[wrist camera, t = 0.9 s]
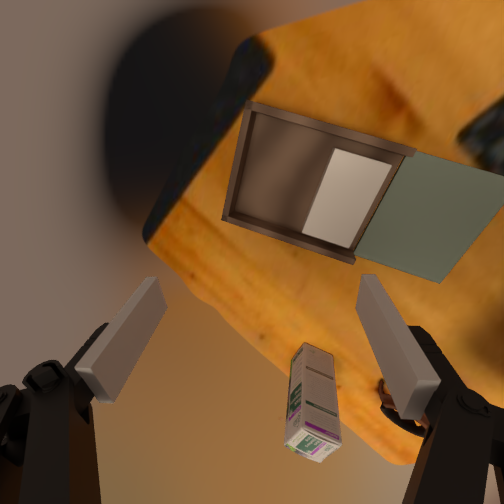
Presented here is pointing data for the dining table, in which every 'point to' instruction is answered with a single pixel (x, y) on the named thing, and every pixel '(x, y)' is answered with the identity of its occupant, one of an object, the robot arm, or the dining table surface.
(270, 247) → the dining table surface
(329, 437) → the syrup box
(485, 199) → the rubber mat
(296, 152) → the walnut box
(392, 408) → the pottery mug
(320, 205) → the light grey block
